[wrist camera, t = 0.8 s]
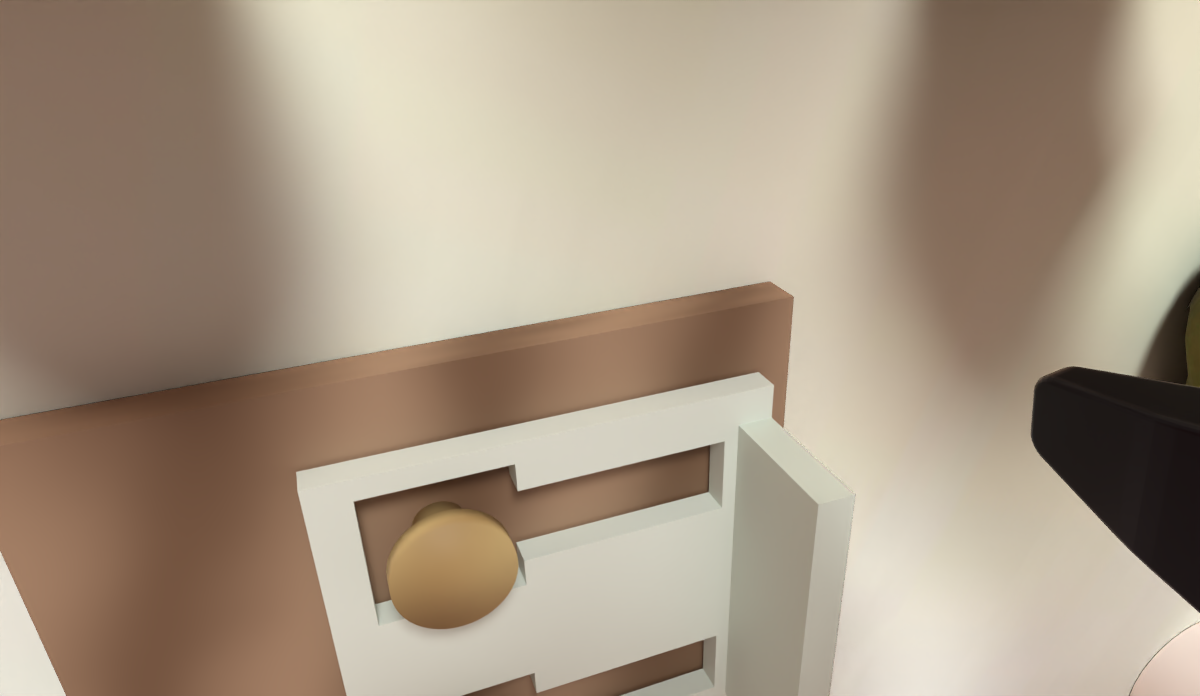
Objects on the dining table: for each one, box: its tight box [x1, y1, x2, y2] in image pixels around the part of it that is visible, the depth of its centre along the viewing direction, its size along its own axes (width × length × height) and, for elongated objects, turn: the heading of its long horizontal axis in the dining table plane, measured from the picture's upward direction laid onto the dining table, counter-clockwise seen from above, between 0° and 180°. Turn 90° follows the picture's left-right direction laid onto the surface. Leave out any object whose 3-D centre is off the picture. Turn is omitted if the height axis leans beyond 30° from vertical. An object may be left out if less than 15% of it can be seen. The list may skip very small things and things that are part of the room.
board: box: [0, 282, 794, 696], centre depth 22 cm, size 19×16×3 cm
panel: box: [296, 372, 856, 696], centre depth 21 cm, size 12×12×4 cm
